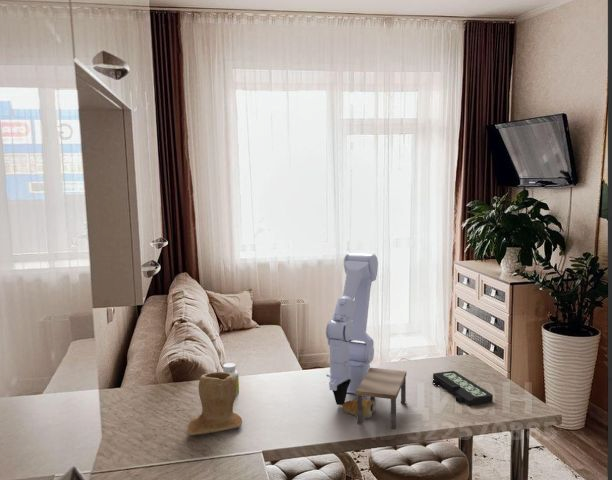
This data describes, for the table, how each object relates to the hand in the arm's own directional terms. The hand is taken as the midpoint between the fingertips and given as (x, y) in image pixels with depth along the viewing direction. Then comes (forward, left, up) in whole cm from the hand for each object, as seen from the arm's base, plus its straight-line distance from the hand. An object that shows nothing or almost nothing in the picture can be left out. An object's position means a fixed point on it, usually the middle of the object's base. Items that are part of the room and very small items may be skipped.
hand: (340, 404), depth 155 cm
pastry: (+2, +6, -1) cm, 7 cm away
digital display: (-22, +33, -2) cm, 39 cm away
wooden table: (0, +13, -1) cm, 13 cm away
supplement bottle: (+1, -36, -1) cm, 36 cm away
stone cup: (+22, -30, -1) cm, 38 cm away
